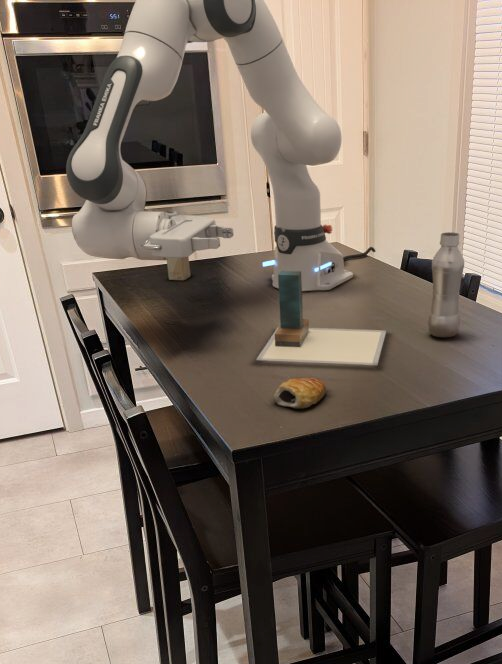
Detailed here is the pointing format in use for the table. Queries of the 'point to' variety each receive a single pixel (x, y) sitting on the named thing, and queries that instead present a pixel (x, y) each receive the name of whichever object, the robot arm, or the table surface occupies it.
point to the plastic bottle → (446, 287)
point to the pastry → (300, 392)
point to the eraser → (291, 310)
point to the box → (178, 268)
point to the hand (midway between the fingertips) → (225, 237)
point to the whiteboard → (330, 347)
